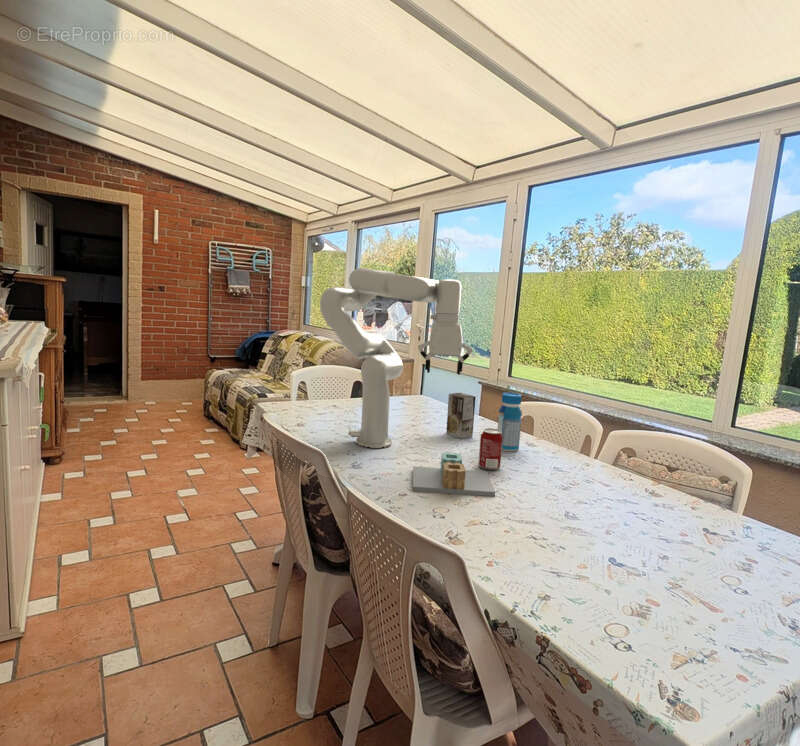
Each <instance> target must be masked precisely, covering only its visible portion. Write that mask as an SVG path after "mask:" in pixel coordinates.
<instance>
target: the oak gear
mask: <svg viewBox="0 0 800 746" xmlns="http://www.w3.org/2000/svg"><path fill="white" fill-rule="evenodd" d="M465 470H466V468H465V465H464V463H462V464H460V463H455V464H454V463H451V462H447V463H443V475H442V482H443V488H447V489H452V488H456V490H461V489H464V486H465V473H466V471H465Z"/></svg>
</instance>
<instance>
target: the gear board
mask: <svg viewBox="0 0 800 746" xmlns="http://www.w3.org/2000/svg"><path fill="white" fill-rule="evenodd" d="M447 462H451V463H454V464H455V463H460V464H463V458H462V455H461V453H458V452H452V453H450V452H448V451H444V452H441V460H440V467H429V466H428V467H427V466H426V467H425V466H414V465H413V468H412V491H413V492H425V493H442V494H454V495H455V494H456V495H472V496H484V497H485V496H486V497H487V496H488V497H496V490H495V487H494V485H493V484H492V482H491V481H492V480H491V479H490V476H489V473H488V472H487V471H486V470H476V469H474V470H473V469H465V471H466V473H465V486H464V489H461V490H456V488H452V489H447V488H443V482H442V475H443V463H447Z"/></svg>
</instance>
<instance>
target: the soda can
mask: <svg viewBox="0 0 800 746" xmlns="http://www.w3.org/2000/svg"><path fill="white" fill-rule="evenodd" d="M502 439H503V437H502V435H501V431H500V430H498V429H497V428H491V427H490V428H484V429H483V430H482V433H481V434H480V438H479V440H480V441H479V449H478V450H479V452H478V462H477V463H478V466H479V467H481V469H483V470H485V471H486V470H487V471H496V470H497V469H500V468H501V460H502V451H503V450H502Z"/></svg>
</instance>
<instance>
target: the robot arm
mask: <svg viewBox="0 0 800 746" xmlns="http://www.w3.org/2000/svg"><path fill="white" fill-rule="evenodd" d="M348 283H349V286H350V287H342V286H333V287H330V288H326V289H325V290H324V292H323V293H322V294H321V298H320V301H319V307H320V308H319V309H320V313H321V316H322V318H323V319H324V321H325V323H326V324H327V325H328V326H329V327H330V328H331V330H332V331H333V332H334V333H335V335H336V336H337V337H338V339H339V341H340V342H341V343H342V344H343V345H344V347H345V348H346V350H347V351H348V352H349V354H350V355H351V356H352V357H354V358H355V359H364V361H362V363H361V368H360V373H361V382H362V403H361V404H362V405H361V406H362V407H361V423H360V424H361V427H360V429H357V430H353V429H352V430H351V429H349V430H348V436H350V437H351V438H356V440H355V443H356V442H357V443H358V444H359V445H358V444H357V443H356V444H357V445H358V446H360V445H361V446H360V447H363V446H365V447H364V448H367V447H370V448H369V449H383V448H382V447H384V448H388V447H390V446H392V441H393V440H392V439H391V438H390V437H389V434H388V433H389V422H390V421H389V419H390V417H389V416H390V415H389V414H390V400H391V399H390V398H391V397H390V395H391V394H390V387H389V383H388V381H391V380H392V381H393V380H395V379H397V378H399V377H401V375H402V374H403V371H404V364H403V361H402V358H401V357H400V355H399V354H398V353H397V352H396V350H395V349H394V348H393V346H392V345H391V344H390V343H389V341H388V340H387V339H386V338H385V336H383V335H382V334H380V333H379V332H377V331H367V330H364V329H363V328H362V327H361V326H360V325H359V323H358V322H357V321H356V319H354V317H353V316H352V315H350V314H348V313H347V312H356V311H360V310H361V309H362V308H364V307H365V306H366V305H367V304H368V303H370V302H371V301H372V300H373V299H375V298H376V297H377V296H378V297H379V296H380V297H384V298H390V299H391V298H393V299H399V300H406V301H411V302H416V303H417V302H419V303H427V304H428V303H430V304H431V303H435V314H431V315H430V320H433V321H434V322H433V323H432V325H431V329H430V333H429V334H430V335H429V340H427V341H425V342H423V343H421V344H419V345H418V346H417V349H418V350H419V353H420V355H421V356H422V358H423V359H424V360H425V365H424V366H425V367H424V368H425V370H426V372H427V373H428V374H429V373H431V372H430V371H431V360H430V359H431V358H432V357H433V356H443V357H444V356H446V357H456V358H457V360H458V361H457V365H456V374H457V375H458V376H459V375H461V373H462V372H463V364H464V362H465V361H466V360H467V359H468V358H469V357H470V355H471V353H472V352H473V348H471V347H470V346H468V345H466V344H465V343H463V331H462V325H461V324H459V323H460V312H461V299H462V298H461V297H462V283H461V282H460V280H456V279H439V280H438V279H432V278H429V277H428V278H427V277H422V276H421V277H420V276H414V275H407V274H399V273H395V272H394V271H390V270H389V271H388V270H381V269H373V268H367V267H358V268H355V269H354V270H353V271H351V272H350V273H349V277H348ZM426 347H428V353H426V352H425V351H424V348H426ZM462 348H463V349H464V350H466V352H465V353H464V355H461V354H462V351H463V350H462ZM387 446H388V447H387Z"/></svg>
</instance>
